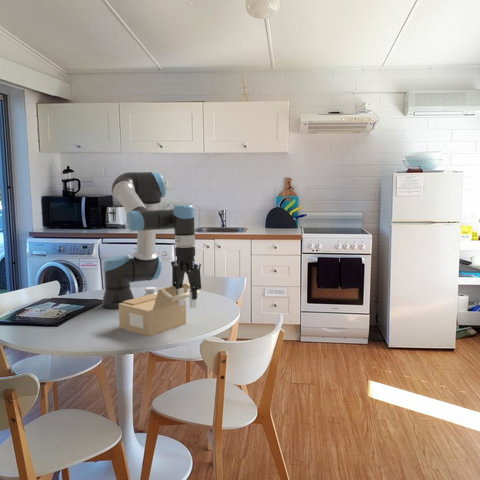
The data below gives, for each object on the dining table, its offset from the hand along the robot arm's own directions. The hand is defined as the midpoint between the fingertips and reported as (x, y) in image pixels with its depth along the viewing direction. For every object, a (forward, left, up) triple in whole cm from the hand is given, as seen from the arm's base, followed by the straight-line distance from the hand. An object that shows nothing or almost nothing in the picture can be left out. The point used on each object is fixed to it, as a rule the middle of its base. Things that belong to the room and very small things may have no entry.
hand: (187, 306), depth 176 cm
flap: (-9, 0, +3) cm, 9 cm away
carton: (-20, 0, -11) cm, 23 cm away
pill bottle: (-35, +12, -12) cm, 39 cm away
